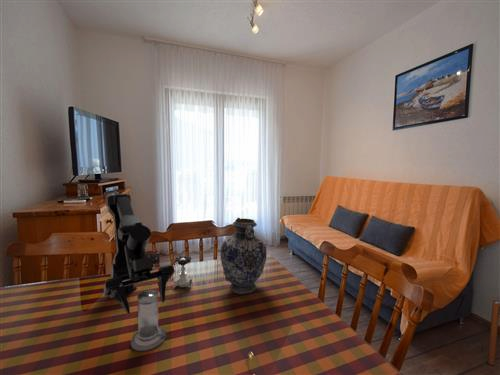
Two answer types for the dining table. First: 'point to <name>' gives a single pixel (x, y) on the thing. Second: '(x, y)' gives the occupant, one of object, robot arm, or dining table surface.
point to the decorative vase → (243, 257)
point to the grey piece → (148, 315)
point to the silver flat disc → (148, 345)
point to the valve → (182, 273)
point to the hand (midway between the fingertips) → (146, 307)
